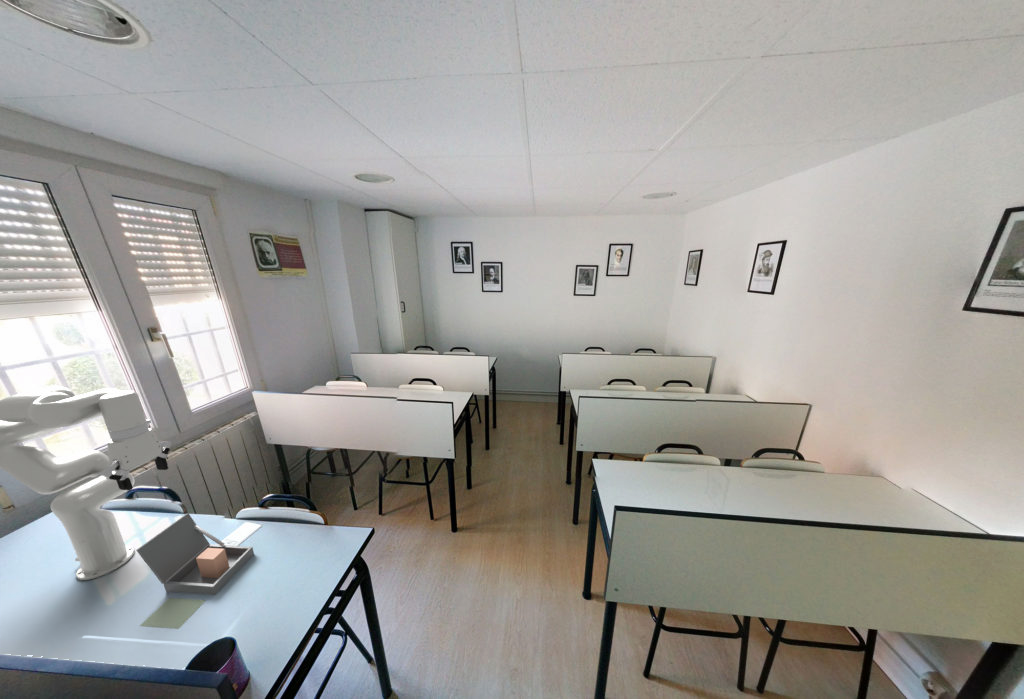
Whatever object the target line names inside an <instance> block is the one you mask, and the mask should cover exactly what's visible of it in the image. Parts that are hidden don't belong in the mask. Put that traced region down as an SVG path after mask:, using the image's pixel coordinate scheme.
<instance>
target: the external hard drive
mask: <svg viewBox="0 0 1024 699" xmlns="http://www.w3.org/2000/svg"><path fill="white" fill-rule="evenodd" d="M262 527H263V524H259V523H254V522H248V521H245V522H244V523H242V524H241V525H240V526H239V527H237V528H236V529H235V530H234V531H232V532H231V533H230V534H228V535H227V536H226V537H225V538H224V539H222V540H221V541H222V542H223V543H225V544H224V545H231V546H241V544H242V543H244V542H245V541H246V540H247V539H248V538H250V537H251V536H252V535H253V534H254V533H256V532H257V531H259V529H261V528H262ZM216 545H219V544H217V543H216Z"/></svg>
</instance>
